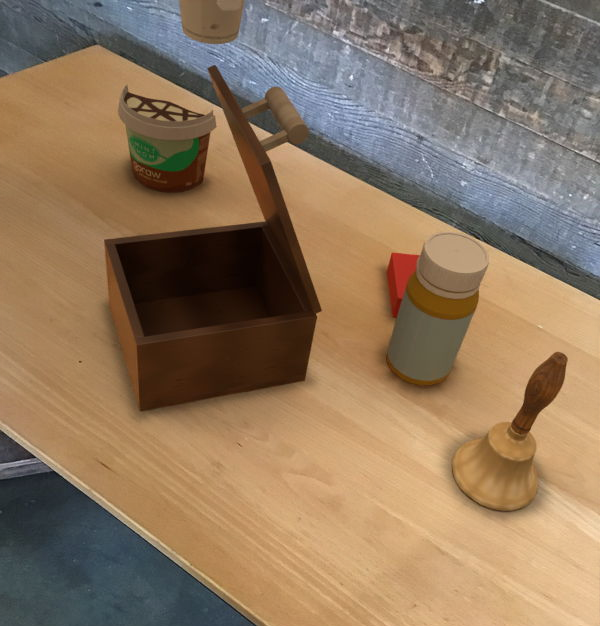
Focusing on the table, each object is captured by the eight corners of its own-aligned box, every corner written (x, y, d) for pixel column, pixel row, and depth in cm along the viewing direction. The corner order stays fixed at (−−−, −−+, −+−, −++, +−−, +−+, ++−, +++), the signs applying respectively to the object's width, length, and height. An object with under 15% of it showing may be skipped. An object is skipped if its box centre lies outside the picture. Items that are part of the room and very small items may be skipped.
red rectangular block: (451, 322, 86) (467, 279, 81) (392, 317, 85) (405, 273, 80) (442, 276, 91) (457, 233, 86) (386, 271, 90) (398, 227, 85)
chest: (139, 411, 72) (136, 345, 65) (109, 307, 80) (103, 239, 74) (305, 380, 77) (317, 316, 70) (259, 286, 86) (267, 220, 79)
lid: (260, 165, 56) (322, 136, 56) (206, 68, 64) (260, 43, 64) (314, 314, 70) (363, 292, 70) (264, 218, 79) (308, 198, 79)
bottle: (459, 359, 82) (505, 248, 71) (433, 399, 77) (477, 287, 66) (402, 332, 84) (437, 219, 72) (373, 368, 79) (406, 254, 68)
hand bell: (462, 428, 75) (517, 309, 63) (543, 459, 74) (615, 343, 62) (442, 491, 70) (498, 374, 58) (529, 525, 69) (604, 412, 57)
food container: (103, 180, 95) (97, 105, 87) (126, 156, 99) (122, 82, 91) (194, 209, 93) (196, 134, 86) (214, 183, 97) (217, 111, 90)
